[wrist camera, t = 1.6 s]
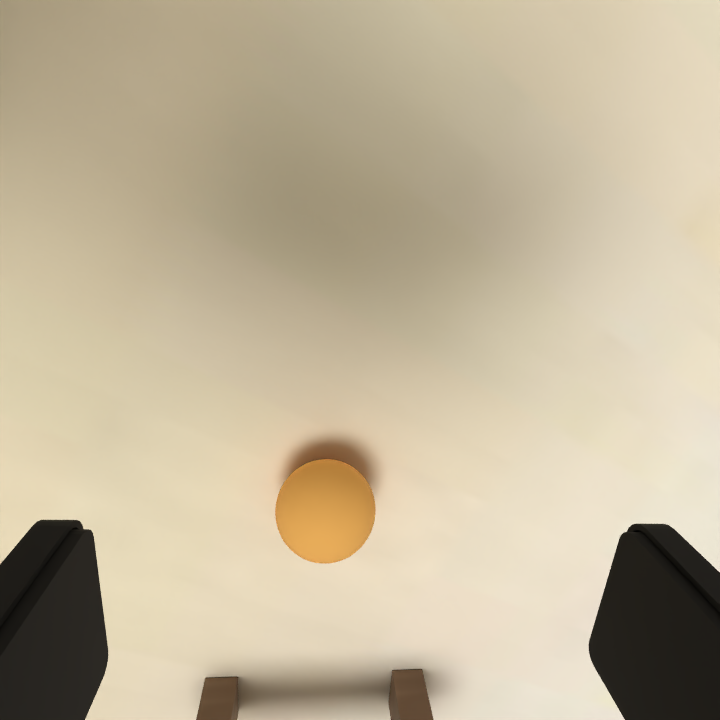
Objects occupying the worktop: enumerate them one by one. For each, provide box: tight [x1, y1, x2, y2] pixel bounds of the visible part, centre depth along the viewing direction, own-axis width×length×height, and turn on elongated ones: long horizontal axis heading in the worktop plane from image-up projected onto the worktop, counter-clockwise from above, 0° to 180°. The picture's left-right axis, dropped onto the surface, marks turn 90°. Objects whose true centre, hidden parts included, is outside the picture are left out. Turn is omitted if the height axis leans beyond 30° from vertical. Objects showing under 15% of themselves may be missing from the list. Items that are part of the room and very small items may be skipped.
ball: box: [275, 459, 375, 563], centre depth 25 cm, size 5×5×5 cm
